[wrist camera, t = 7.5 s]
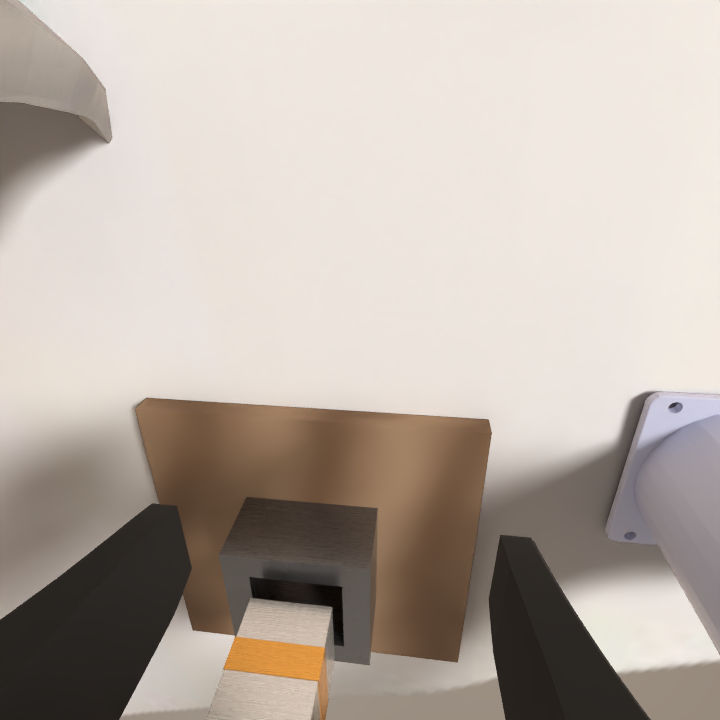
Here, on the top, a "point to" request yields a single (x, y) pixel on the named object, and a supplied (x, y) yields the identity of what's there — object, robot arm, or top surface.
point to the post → (278, 664)
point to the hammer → (47, 70)
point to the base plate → (331, 500)
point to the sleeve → (307, 565)
